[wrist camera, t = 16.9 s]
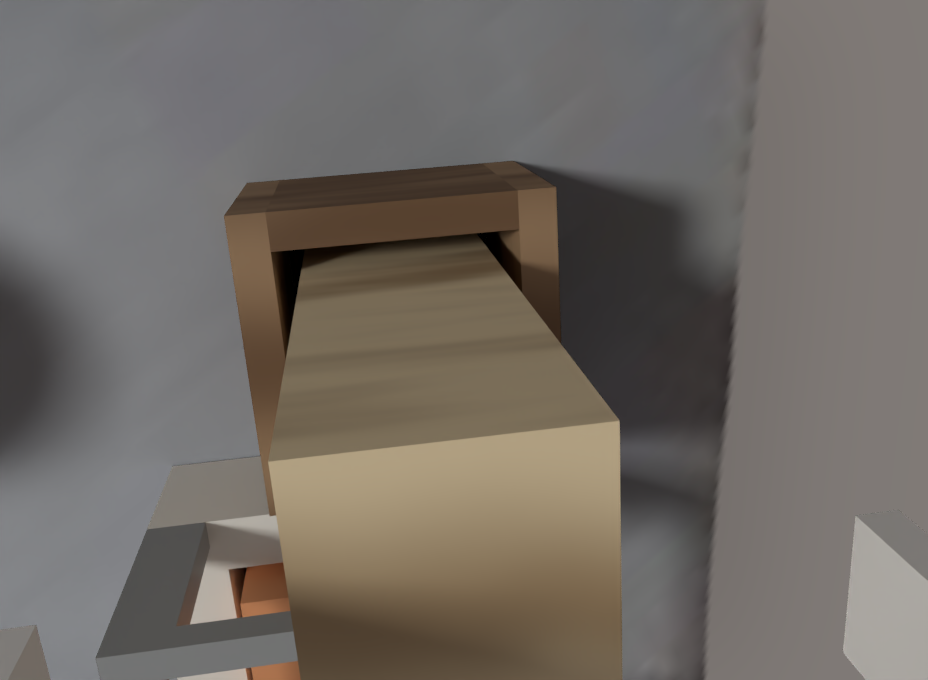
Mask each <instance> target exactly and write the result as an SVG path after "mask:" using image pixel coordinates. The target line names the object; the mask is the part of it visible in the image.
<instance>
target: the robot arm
mask: <svg viewBox="0 0 928 680" xmlns="http://www.w3.org/2000/svg"><path fill="white" fill-rule="evenodd" d="M847 605H848V606H847V614H846V625H845V636H844V647H843V653H844V654H845V655H846V657H847V658H848V659H849V660H850V661H851V663H852V664H853V665H854V666H855V667H856V669H857V670H858V671H859V672H860V673H861V675H862V676H863V677H864V678H865V679H866V680H928V534H927V533H926V532H925V531H924V530H922V529H921V528H920V527H919V526H917V525H916V524H915V523H914V522H913V521H911V520H910V519H909V518H908V517H907V516H905V515H904V514H903V513H902V512H901V511H899V510H894V511H887V512H878V513H871V514H863V515H856V517H855V528H854V539H853V550H852V560H851V571H850V582H849V593H848V604H847ZM0 680H50V676H49V672H48V668H47V665H46V661H45V657H44V653H43V649H42V646H41V642H40V638H39V634H38V630H37V627H36V625H32V626H25V627H17V628H10V629H2V630H0Z"/></svg>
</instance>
